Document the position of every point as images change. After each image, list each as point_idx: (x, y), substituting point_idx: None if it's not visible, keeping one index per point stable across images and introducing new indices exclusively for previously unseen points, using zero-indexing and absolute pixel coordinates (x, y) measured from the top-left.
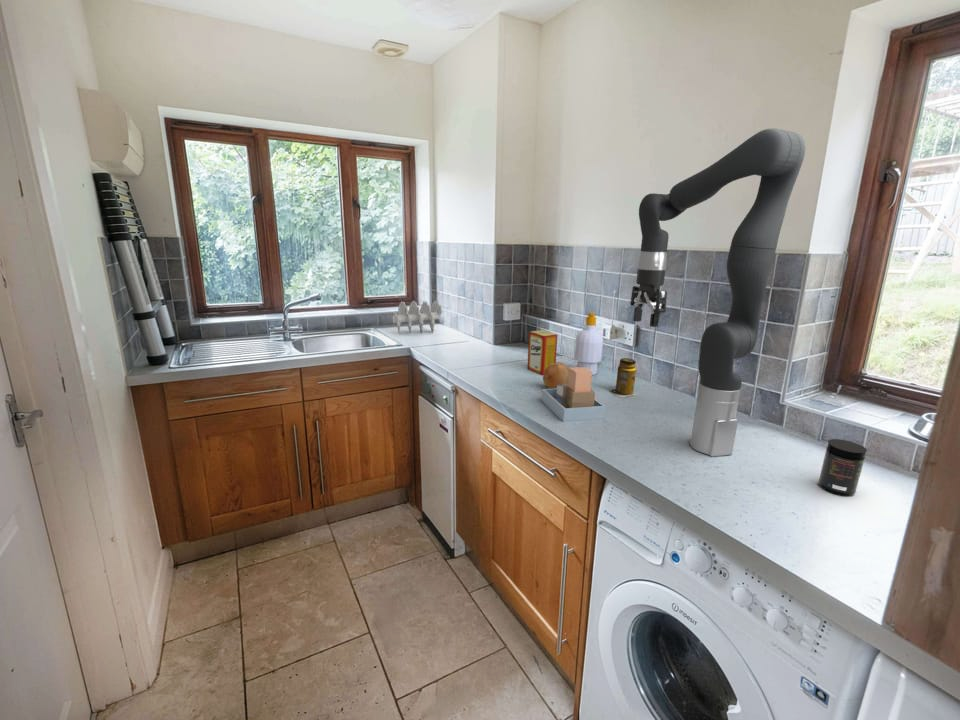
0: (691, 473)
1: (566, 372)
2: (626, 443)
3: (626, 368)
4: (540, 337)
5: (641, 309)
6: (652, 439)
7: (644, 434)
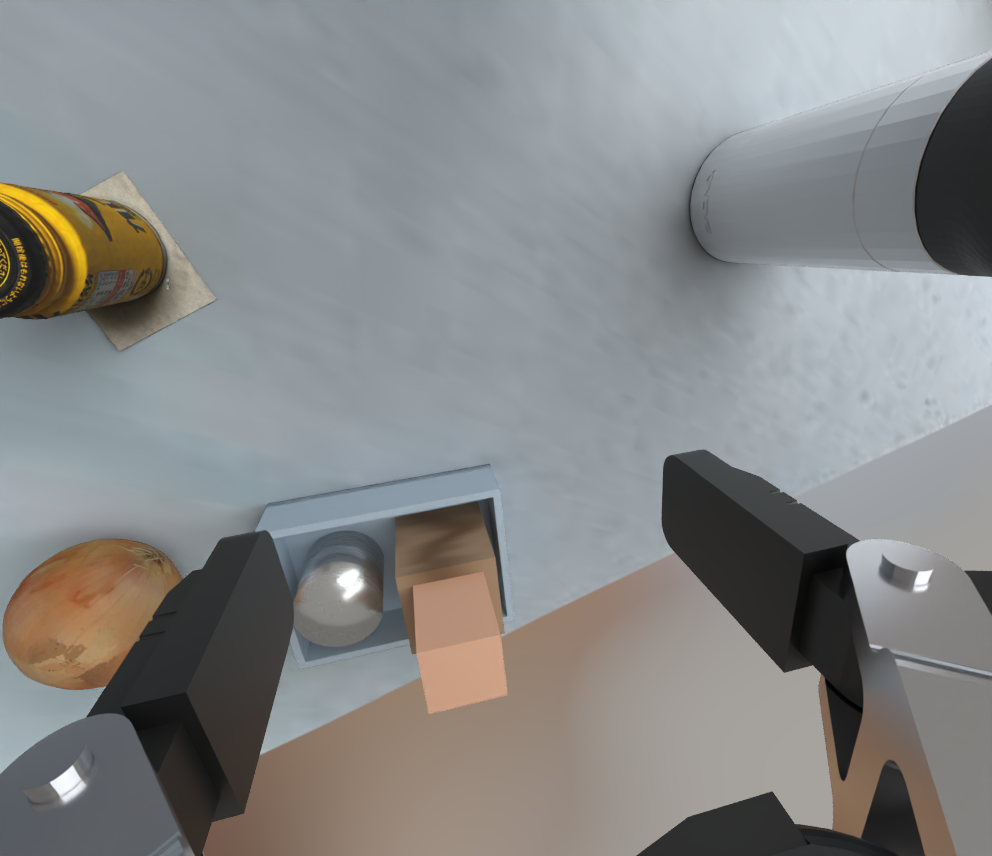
0: (836, 350)
1: (126, 602)
2: (656, 449)
3: (68, 282)
4: None
5: (198, 709)
6: (648, 361)
7: (610, 371)
